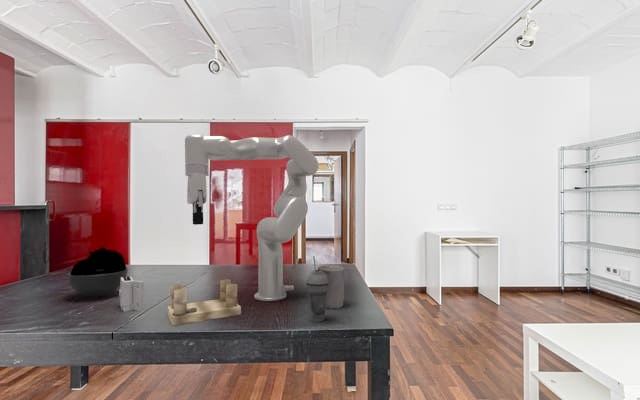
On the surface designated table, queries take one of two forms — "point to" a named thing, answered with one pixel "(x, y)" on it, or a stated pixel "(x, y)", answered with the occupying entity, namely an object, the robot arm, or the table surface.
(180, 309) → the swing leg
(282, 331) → the table surface
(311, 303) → the beverage cup
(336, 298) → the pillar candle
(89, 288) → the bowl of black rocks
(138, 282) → the hinge
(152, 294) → the table surface
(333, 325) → the table surface
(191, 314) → the stool seat
